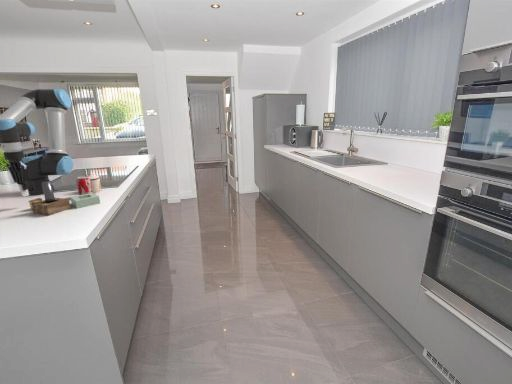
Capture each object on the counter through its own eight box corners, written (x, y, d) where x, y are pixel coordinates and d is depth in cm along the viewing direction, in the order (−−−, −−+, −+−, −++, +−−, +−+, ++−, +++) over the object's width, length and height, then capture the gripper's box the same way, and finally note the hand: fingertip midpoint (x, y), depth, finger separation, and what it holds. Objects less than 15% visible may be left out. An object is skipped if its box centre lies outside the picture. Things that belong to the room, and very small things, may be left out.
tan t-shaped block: (30, 208, 139) (28, 200, 138) (41, 205, 144) (39, 198, 142) (42, 210, 136) (40, 202, 135) (52, 207, 141) (51, 199, 140)
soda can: (87, 199, 156) (82, 178, 153) (76, 198, 158) (72, 178, 154) (96, 195, 163) (92, 176, 160) (86, 195, 164) (82, 175, 161)
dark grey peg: (47, 210, 138) (40, 182, 133) (56, 208, 140) (49, 180, 136) (48, 212, 135) (41, 183, 131) (58, 210, 138) (51, 181, 134)
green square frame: (71, 203, 148) (70, 196, 147) (94, 199, 155) (92, 192, 154) (77, 208, 140) (75, 201, 139) (100, 203, 148) (98, 196, 147)
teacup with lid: (104, 191, 172) (100, 173, 169) (87, 194, 166) (84, 175, 163) (98, 187, 180) (95, 170, 177) (83, 190, 174) (79, 172, 171)
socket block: (33, 213, 134) (31, 203, 133) (55, 206, 144) (53, 197, 143) (49, 215, 131) (46, 205, 129) (70, 208, 141) (68, 199, 139)
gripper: (-5, 151, 134) (9, 196, 141) (12, 152, 130) (26, 199, 137) (12, 149, 141) (25, 192, 148) (29, 150, 137) (41, 194, 144)
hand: (25, 195), depth 143 cm, fingers closed
